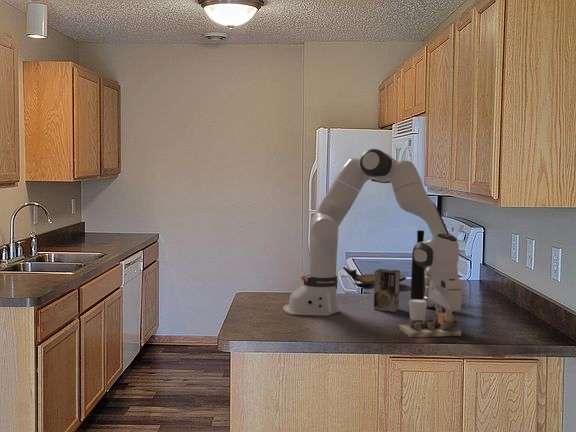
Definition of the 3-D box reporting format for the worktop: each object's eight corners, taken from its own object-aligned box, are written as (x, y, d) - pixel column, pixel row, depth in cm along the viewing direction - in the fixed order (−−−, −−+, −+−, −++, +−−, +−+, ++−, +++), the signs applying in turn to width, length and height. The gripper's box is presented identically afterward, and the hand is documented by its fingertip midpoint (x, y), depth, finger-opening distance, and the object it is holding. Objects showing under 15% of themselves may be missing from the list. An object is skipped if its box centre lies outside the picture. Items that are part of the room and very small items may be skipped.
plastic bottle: (439, 309, 277) (441, 261, 275) (422, 308, 278) (424, 260, 277) (439, 306, 283) (441, 259, 282) (422, 305, 285) (424, 258, 283)
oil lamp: (386, 293, 309) (387, 276, 308) (336, 283, 330) (337, 267, 329) (414, 287, 325) (415, 271, 324) (365, 278, 346) (365, 263, 345)
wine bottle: (413, 296, 304) (416, 229, 301) (426, 297, 301) (428, 230, 298) (409, 298, 299) (412, 230, 296) (422, 299, 296) (425, 231, 293)
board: (410, 337, 234) (410, 325, 234) (398, 329, 245) (399, 318, 245) (462, 335, 238) (462, 324, 238) (449, 327, 249) (449, 316, 249)
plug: (414, 330, 238) (414, 316, 238) (409, 327, 242) (410, 313, 242) (453, 328, 241) (453, 315, 241) (448, 326, 245) (448, 312, 245)
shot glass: (422, 321, 257) (423, 303, 256) (405, 318, 261) (406, 301, 260) (428, 318, 263) (429, 300, 262) (412, 315, 267) (412, 298, 266)
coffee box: (399, 309, 277) (400, 270, 276) (394, 312, 271) (396, 272, 270) (377, 306, 281) (379, 268, 279) (373, 309, 275) (374, 270, 274)
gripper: (425, 274, 250) (423, 311, 252) (448, 285, 230) (446, 325, 232) (441, 274, 252) (439, 310, 253) (465, 285, 232) (463, 324, 233)
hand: (443, 317), depth 242 cm, fingers open, 5 cm apart
